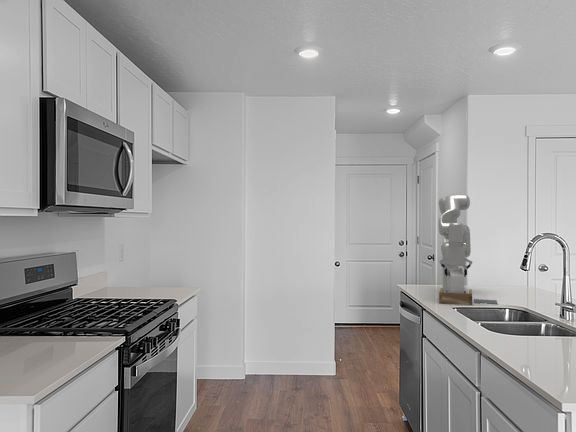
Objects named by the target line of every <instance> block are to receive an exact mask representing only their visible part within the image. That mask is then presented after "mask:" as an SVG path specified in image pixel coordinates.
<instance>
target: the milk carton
mask: <svg viewBox="0 0 576 432" xmlns="http://www.w3.org/2000/svg"><path fill="white" fill-rule="evenodd" d="M464 291H465V277H464V271H463V267H458V268H449V272H448V274H447V292H448V293H464Z"/></svg>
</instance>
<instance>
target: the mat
mask: <svg viewBox="0 0 576 432" xmlns="http://www.w3.org/2000/svg"><path fill="white" fill-rule="evenodd" d="M480 303H487V304H486V305H499V304H498V301H497V300H496V299H481V298H480V299H479V298H478V299H477V298H473V304H480Z"/></svg>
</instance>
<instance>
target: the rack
mask: <svg viewBox="0 0 576 432" xmlns="http://www.w3.org/2000/svg"><path fill="white" fill-rule="evenodd" d="M438 304H440V305H441V304H443V305H459V306H460V305H461V306H472V305H473V289H468V293H467V292H466V293H448V292H443V287H442V288H440V289H439V292H438Z"/></svg>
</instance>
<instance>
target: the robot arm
mask: <svg viewBox="0 0 576 432" xmlns="http://www.w3.org/2000/svg"><path fill="white" fill-rule="evenodd" d="M470 199H471V198H470V196H468V194H449V195H447V196H442V197H440V198H439V200H438V207H439V212H440V214H441V215H440V217H439V219H438V222H437V223H438V225H437V226H438V232H439V235H440V236H442V237H444V239H445V240H448V241H446V242H443V243H442V244H441V245H440V246H441V247H440V250H441V257H442V258H441V259H440V260H439V264H440V266H441V267H442V288H443V292H446V290H447V274H448V272H449V268H459V267H462V268H464V271H463V274H464V278H466V277H467V275H468V269H469V268H471V265H472V264H473V261H472V260H471V259H467V258H469V257H470V256H471V252H472V251H471V249H472V248H471V230H470V227H469V226H468V225H467V224H464V223H462V222H458V218H460V216H461V214H462V213H461V211H466V210H468V209H469V208H470V205H471V200H470ZM466 262H467V263H468V264H467V265H466Z"/></svg>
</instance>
